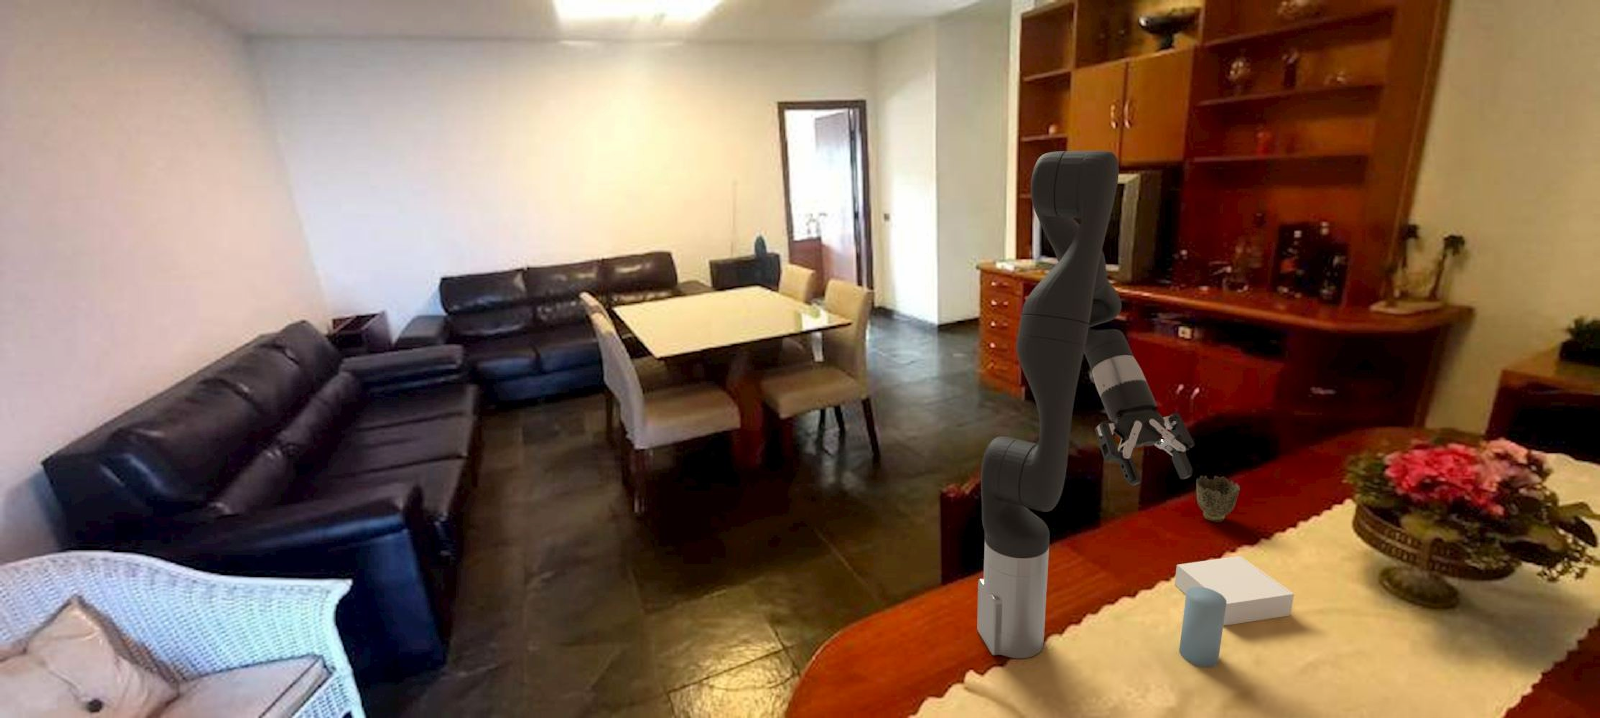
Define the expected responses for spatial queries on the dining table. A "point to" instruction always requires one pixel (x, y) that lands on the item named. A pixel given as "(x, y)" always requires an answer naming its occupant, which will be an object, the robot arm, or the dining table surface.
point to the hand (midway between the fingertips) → (1161, 480)
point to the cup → (1216, 497)
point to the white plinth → (1238, 588)
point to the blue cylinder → (1202, 626)
